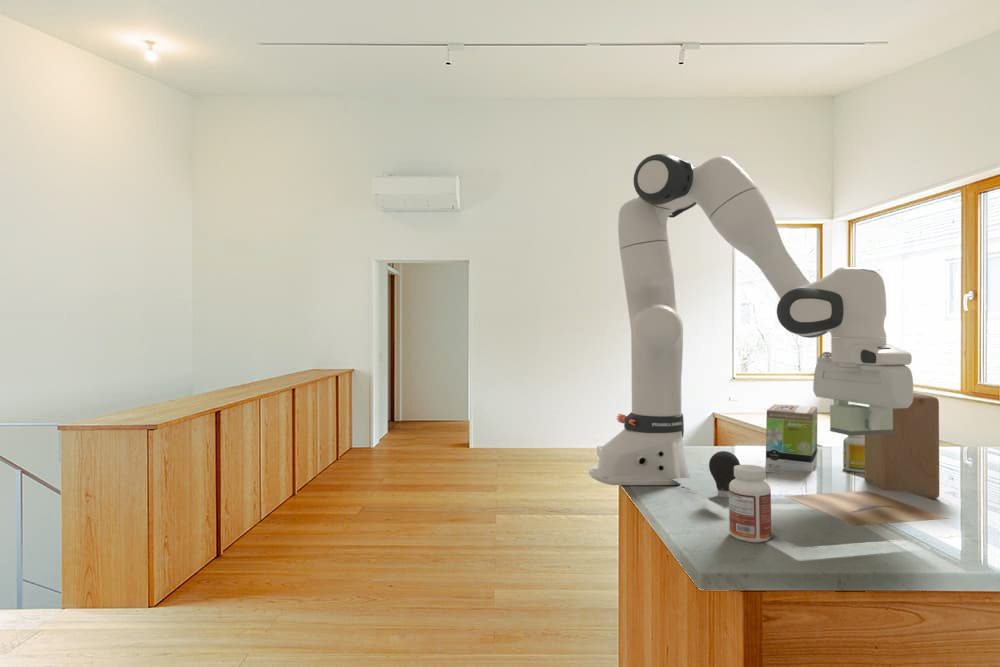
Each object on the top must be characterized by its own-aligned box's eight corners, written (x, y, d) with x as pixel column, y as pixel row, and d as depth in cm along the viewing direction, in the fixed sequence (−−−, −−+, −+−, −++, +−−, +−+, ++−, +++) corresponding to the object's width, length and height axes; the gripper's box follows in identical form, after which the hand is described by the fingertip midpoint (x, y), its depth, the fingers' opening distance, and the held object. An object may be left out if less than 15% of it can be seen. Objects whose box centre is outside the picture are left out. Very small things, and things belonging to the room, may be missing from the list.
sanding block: (850, 435, 105) (850, 408, 105) (830, 431, 110) (830, 405, 110) (893, 433, 107) (892, 406, 107) (871, 429, 112) (870, 403, 112)
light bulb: (737, 509, 106) (737, 455, 106) (706, 505, 109) (705, 452, 109) (743, 502, 111) (742, 450, 111) (712, 497, 114) (712, 447, 114)
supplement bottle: (838, 468, 138) (837, 428, 138) (856, 466, 139) (856, 427, 139) (856, 473, 133) (856, 431, 133) (876, 472, 134) (875, 430, 134)
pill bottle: (760, 529, 95) (760, 463, 95) (778, 543, 89) (778, 472, 89) (723, 530, 95) (722, 463, 95) (738, 543, 89) (738, 472, 89)
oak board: (855, 534, 93) (854, 525, 93) (785, 503, 110) (785, 495, 110) (949, 527, 96) (949, 518, 96) (867, 498, 113) (867, 490, 113)
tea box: (813, 478, 128) (813, 412, 128) (764, 473, 134) (764, 409, 134) (818, 465, 141) (817, 405, 141) (773, 460, 146) (772, 402, 146)
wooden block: (941, 500, 111) (941, 397, 111) (884, 498, 113) (883, 396, 113) (915, 487, 121) (915, 391, 121) (863, 484, 123) (862, 391, 123)
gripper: (804, 351, 118) (805, 419, 118) (888, 355, 98) (888, 436, 98) (832, 351, 119) (832, 418, 119) (920, 355, 99) (920, 435, 99)
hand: (858, 426), depth 108 cm, fingers closed on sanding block, 5 cm apart
